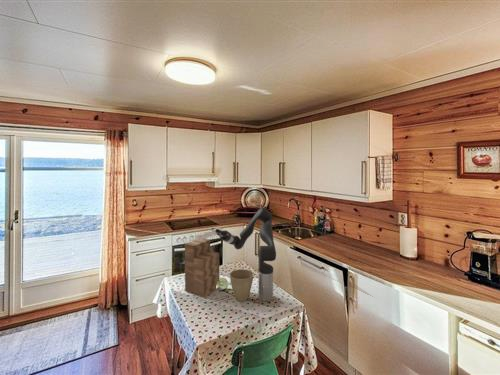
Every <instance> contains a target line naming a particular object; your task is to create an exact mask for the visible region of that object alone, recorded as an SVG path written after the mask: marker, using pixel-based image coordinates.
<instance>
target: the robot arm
mask: <svg viewBox="0 0 500 375" xmlns="http://www.w3.org/2000/svg"><path fill="white" fill-rule="evenodd" d="M272 218H273V215H272V213H271V212H270V211H268V210H267V209H266V208H265V207H260V208H259V209H257V211H256V213H255V214H254V215H253V217H252V218H251V219H250V220H249V222H248V223H247V225H246V226H245V228H244V229H242V231H241V232H240V233H239V236H238V235H234V234H232V233H231V232H230V231H228V230H225V229H224V230H222V231H221V230H219V229H216V228H214V227H212V228H211V230H213V229H216V232H217V233H218V234H216V235H215V236H218V237H219V239H220V240H222V241H223V242H225V243H227V244H230V245H233V246H234V249H236V250H241V249H242V248H243V247H244V245H245V244H246V242H247V240H248V238H250V237H251V235H253V233H254V229H255V225H256V222H257V221H258V220H260V221H261V222H263V224H262V225H261V226H260V227H259V237H260V239H261V241H262V242H264V243H265V244H266V245H260V246H259V247H258V252H257V253H258V281H257V282H258V288H257V289H258V290H257V294H258V296H257V298H258V299H259V300H260V301H262V302H271V301H273V299H274V267H273V265H271V264H269V263H266V262H274V261H276V258H277V251H276V250H277V249H276V246H275V242H274V232H273V223H272V221H273V219H272Z"/></svg>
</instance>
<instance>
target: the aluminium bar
mask: <svg viewBox="0 0 500 375" xmlns="http://www.w3.org/2000/svg"><path fill="white" fill-rule="evenodd" d="M216 229H219V230H221V231H223V228H222V227H216V228H214V229H213V230H212V229H210V230H207V231H204V232H201V233H198V234H195V235H194V240H198V241H199V240H202V239H207V238H210V237H212V236H217V235H216V234H218V233H217V232H216Z"/></svg>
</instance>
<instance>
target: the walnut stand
mask: <svg viewBox="0 0 500 375" xmlns="http://www.w3.org/2000/svg"><path fill="white" fill-rule="evenodd" d="M218 281H219V282H220V253H219V252H216V251H211V239H209V238H208V239H207V238H205V239H202V240H199V241H198V240H195V239H194V240H192V241H189V242H185V243H184V288H185V289H184V292H186V291H187V293H189V294H193V295H194V296H197V297H201V298H203V299H204V298H206V297H207V296H208V295H211V293H213V292H214V291H216V290H217V289H216V284H217V282H218Z"/></svg>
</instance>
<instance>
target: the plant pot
mask: <svg viewBox="0 0 500 375" xmlns="http://www.w3.org/2000/svg"><path fill="white" fill-rule="evenodd" d="M254 274H255V273H254V272H253V271H252V270H249V269H241V268H240V269H235V270H232V271H231V272H230V273H229V279H230V285H231V288H232V293H233V295H234V298H235V300H236V301H238V302H240V303H241V302H246V301H248V299H249V296H250V293H251V290H252V286H253V281H254Z"/></svg>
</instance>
